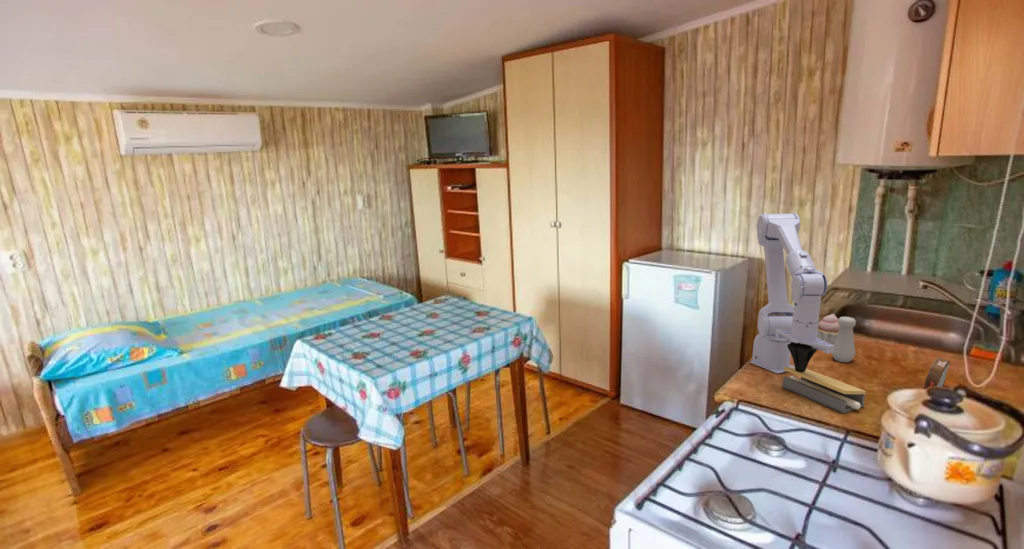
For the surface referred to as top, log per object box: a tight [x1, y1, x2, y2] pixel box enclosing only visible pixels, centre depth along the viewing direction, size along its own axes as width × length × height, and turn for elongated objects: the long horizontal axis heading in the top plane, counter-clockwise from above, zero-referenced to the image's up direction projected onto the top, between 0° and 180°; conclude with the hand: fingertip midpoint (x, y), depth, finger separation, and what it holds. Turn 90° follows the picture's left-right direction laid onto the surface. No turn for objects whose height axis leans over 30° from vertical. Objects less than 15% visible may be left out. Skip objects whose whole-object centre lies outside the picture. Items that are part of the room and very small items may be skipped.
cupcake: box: [817, 313, 840, 345], centre depth 164 cm, size 9×9×10 cm
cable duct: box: [781, 375, 866, 414], centre depth 131 cm, size 18×8×3 cm, turn 26°
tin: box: [922, 356, 951, 390], centre depth 131 cm, size 15×3×8 cm, turn 133°
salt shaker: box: [831, 316, 857, 364], centre depth 152 cm, size 6×6×13 cm
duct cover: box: [784, 367, 867, 395], centre depth 130 cm, size 16×8×1 cm, turn 26°
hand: (800, 371), depth 133 cm, fingers closed, pressing on duct cover
